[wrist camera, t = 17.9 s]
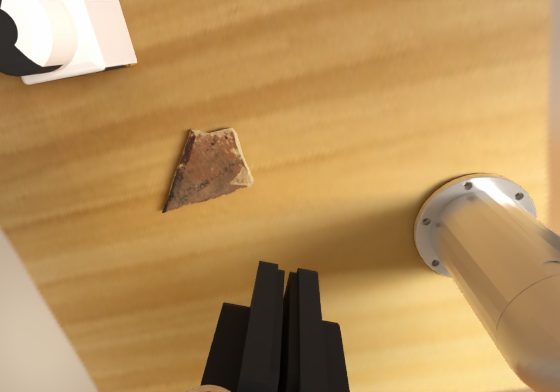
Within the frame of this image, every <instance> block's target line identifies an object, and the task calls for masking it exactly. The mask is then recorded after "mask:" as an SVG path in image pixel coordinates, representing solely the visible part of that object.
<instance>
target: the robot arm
mask: <svg viewBox="0 0 560 392" xmlns="http://www.w3.org/2000/svg"><path fill="white" fill-rule="evenodd" d="M465 183H466V184H465ZM425 218H426V219H425ZM423 219H424V220H423ZM414 241H415V245H416V248H417V250H418V252H419V254H420V256H421V257H422V259H423V260H424V262H425V263H426V264H427V265H428V266H429V267H430V268H431V269H433V270H434V271H436V272H438V273H439V274H442V275H444V276H447V277H450V278H452V279H453V280H454V282H455V284H456V285H457V287H458V288H459V290H460V291H461V293H462V294H463V296H464V297H465V299H466V300H467V302H468V303H469V305H470V307H471V308H472V310H473V311H474V313H475V314H476V316H477V317H478V319H479V320H480V322H481V323H482V325H483V327H484V328H485V330H486V331H487V333H488V334H489V336H490V337H491V339H492V340H493V342H494V343H495V345H496V347H497V348H498V350H499V351H500V353H501V354H502V356H503V357H504V359H505V360H506V362H507V363H508V365H509V366H510V368H511V369H512V370H513V372H514V373H515V374H516V375H517V376H518V377H519V378H520V379H521V380H522V381H523V382H524V383H525V384H526V385H527V386H528V387H530V388H531V389H532V390H534V391H535V392H560V236H559V235H558V234H557V233H555V232H554V231H553V230H551V229H550V228H549V227H547V226H546V225H545V224H543V223H542V222H541V221H539V220H538V219H537V216H536V209H535V206H534V203H533V200H532V199H531V197H530V196H529V194H528V193H527V192H526V191H525V190H524V189H523V188H522V187H521V186H519V185H518V184H516V183H515V182H513V181H512V180H510V179H507V178H505V177H503V176H499V175H494V174H472V175H466V176H463V177H460V178H457V179H454V180H452V181H450V182H448V183H447V184H445V185H443V186H442V187H440V188H439V189H438V190H436V191H435V192H434V193H433V194H432V195H431V196H430V197H429V198H428V199H427V200H426V201H425V203H424V204H423V206H422V207H421V209H420V211H419V213H418V215H417V218H416V221H415V226H414ZM284 275H285V271H283V270H278V264H274V263H268V262H263V261H259V266H258V271H257V276H256V281H255V286H254V291H253V295H252V300H251V305H250V307H246V306H241V305H235V304H230V303H223V306H222V309H221V313H220V316H219V320H218V324H217V327H216V331H215V335H214V338H213V342H212V345H211V349H210V353H209V356H208V360H207V363H206V367H205V371H204V374H203V378H202V382H201V385H200V386H197V387H195V388H192V389H190V390H188V391H187V392H350V390H349V384H348V377H347V371H346V364H345V357H344V351H343V344H342V338H341V331H340V326H339V324H338V323H334V322H329V321H323V320H322V314H321V303H320V292H319V281H318V273H317V272H316V271H311V270H306V269H300V268H298V270H297V273H294V272H290V274H289V277H288V281H287V286H286V290H285V294H284ZM283 295H284V298H283Z"/></svg>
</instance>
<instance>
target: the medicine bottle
mask: <svg viewBox="0 0 560 392" xmlns="http://www.w3.org/2000/svg"><path fill="white" fill-rule="evenodd" d="M136 64H137V59H136V56H135V52H134V49H133V46H132V42H131V39H130V36H129V33H128V29H127V26H126V23H125V19H124V16H123V13H122V9H121V6H120V3H119V0H0V72H2V73H4V74H7V75H11V76H21V78H22V80H23V82H24V83H25V84H29V85H30V84H36V83H42V82H48V81H54V80H59V79H65V78H71V77H76V76H82V75H87V74H92V73H97V72H102V71H108V70H113V69H118V68H123V67H128V66H134V65H136Z"/></svg>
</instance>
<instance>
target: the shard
mask: <svg viewBox="0 0 560 392" xmlns="http://www.w3.org/2000/svg"><path fill="white" fill-rule="evenodd" d="M253 180H254V179H253V177H252V175H251V173H250V170H249V168H248V166H247V163H246V161H245V158H244V156H243V153H242V150H241V146H240V143H239V140H238V136H237V133H236V132H235V131H234V129H233V128H227V129H223V130H220V131H215V132H211V133H207V132H203V131H199V130H195V129H191V130H190V132H189V137H188V140H187V143H186V145H185V147H184V151H183V154H182V156H181V159H180V162H179V165H178V167H177V169H176V172H175V176H174V178H173V181H172V184H171V188H170V192H169V196H168V199H167V202H166V203H165V204H164V208H163V211H162V213H165V212H168V211H171V210H174V209H178V208H180V207H183V206H186V205H190V204H193V203H199V202H203V201H207V200H210V199H214V198H218V197H221V196H222V195H228V194H230V193H233V192H236V191H237V190H238V189H241V188H245V187H248V186H250V185H251V184H253V183H254V182H253Z"/></svg>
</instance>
